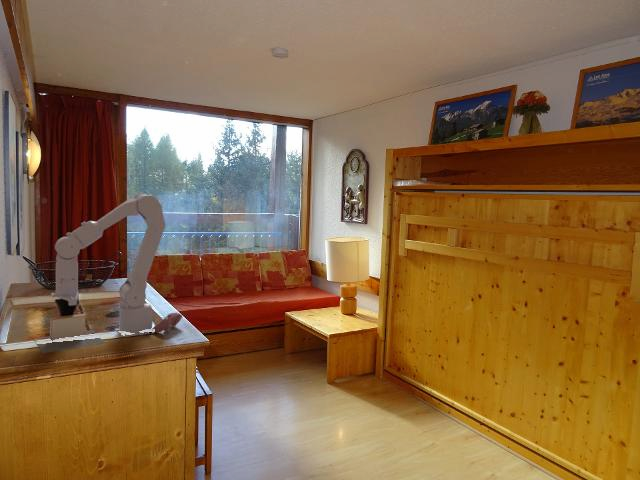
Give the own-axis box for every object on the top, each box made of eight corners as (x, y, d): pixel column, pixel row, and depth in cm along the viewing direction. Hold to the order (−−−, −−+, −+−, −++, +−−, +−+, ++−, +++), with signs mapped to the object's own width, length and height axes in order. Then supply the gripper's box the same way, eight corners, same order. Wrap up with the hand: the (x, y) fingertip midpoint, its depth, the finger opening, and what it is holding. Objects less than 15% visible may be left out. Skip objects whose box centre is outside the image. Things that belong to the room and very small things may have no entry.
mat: (92, 331, 146) (92, 330, 146) (105, 344, 136) (105, 343, 136) (33, 340, 135) (33, 338, 135) (42, 355, 125) (42, 353, 125)
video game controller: (161, 339, 148) (171, 322, 146) (150, 331, 149) (159, 313, 147) (177, 330, 157) (187, 313, 156) (167, 322, 158) (176, 306, 157)
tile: (83, 335, 140) (84, 313, 139) (84, 337, 139) (86, 315, 138) (49, 340, 134) (50, 317, 133) (50, 342, 133) (51, 319, 132)
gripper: (46, 274, 138) (45, 318, 140) (57, 284, 128) (57, 332, 129) (72, 272, 143) (71, 315, 145) (85, 282, 132) (84, 328, 134)
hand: (66, 323), depth 137 cm, fingers closed
